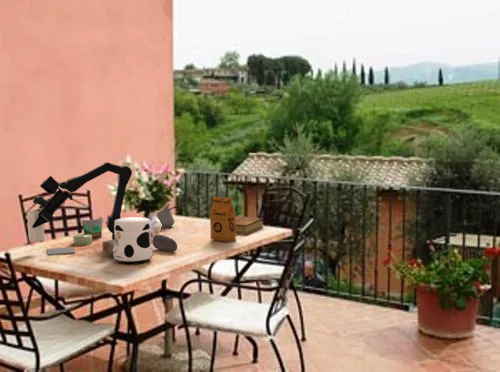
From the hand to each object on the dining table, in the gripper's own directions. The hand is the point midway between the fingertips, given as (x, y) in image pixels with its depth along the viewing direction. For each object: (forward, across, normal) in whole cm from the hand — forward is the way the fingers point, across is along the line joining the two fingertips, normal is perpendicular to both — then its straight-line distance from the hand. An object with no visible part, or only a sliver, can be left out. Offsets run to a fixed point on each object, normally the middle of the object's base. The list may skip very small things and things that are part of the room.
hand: (32, 226), depth 292 cm
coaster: (+1, 0, +18) cm, 18 cm away
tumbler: (+4, 0, +6) cm, 7 cm away
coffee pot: (-42, -42, +61) cm, 85 cm away
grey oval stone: (-32, +15, +51) cm, 62 cm away
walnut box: (-14, +18, +33) cm, 40 cm away
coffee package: (-54, +2, +73) cm, 91 cm away
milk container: (-20, +29, +38) cm, 52 cm away
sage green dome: (-7, -16, +26) cm, 31 cm away
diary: (-65, -23, +85) cm, 110 cm away
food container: (-12, -27, +31) cm, 42 cm away
